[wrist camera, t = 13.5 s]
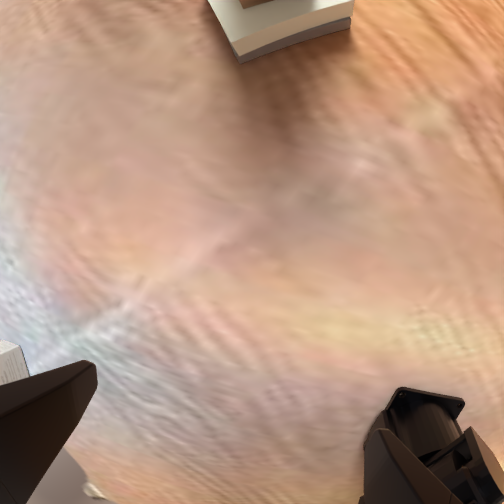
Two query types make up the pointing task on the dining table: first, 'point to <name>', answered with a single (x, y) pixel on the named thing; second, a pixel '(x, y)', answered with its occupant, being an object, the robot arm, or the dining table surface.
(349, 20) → the tower bottom block
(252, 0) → the walnut pillar
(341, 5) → the tower top block
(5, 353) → the skincare box
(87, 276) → the dining table surface
